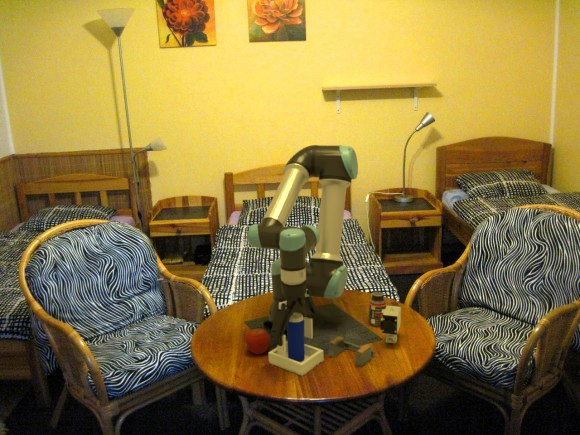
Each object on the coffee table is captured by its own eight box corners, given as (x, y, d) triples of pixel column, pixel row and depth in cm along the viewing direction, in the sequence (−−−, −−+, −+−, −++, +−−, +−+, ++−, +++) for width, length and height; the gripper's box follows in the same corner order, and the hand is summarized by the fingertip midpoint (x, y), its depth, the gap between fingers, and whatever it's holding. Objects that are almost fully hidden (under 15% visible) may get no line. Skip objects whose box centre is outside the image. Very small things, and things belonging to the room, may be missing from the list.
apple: (275, 351, 177) (274, 329, 175) (256, 360, 172) (255, 337, 170) (260, 343, 183) (259, 322, 181) (241, 351, 178) (240, 329, 176)
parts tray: (268, 363, 170) (268, 352, 169) (290, 349, 178) (290, 338, 178) (302, 376, 162) (301, 365, 161) (323, 360, 171) (323, 350, 170)
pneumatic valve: (401, 334, 186) (401, 301, 183) (395, 350, 176) (396, 315, 173) (384, 332, 188) (385, 299, 185) (378, 347, 177) (379, 313, 174)
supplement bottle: (374, 328, 191) (375, 298, 188) (365, 321, 196) (365, 292, 193) (389, 324, 193) (389, 295, 190) (379, 318, 198) (380, 289, 196)
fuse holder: (328, 355, 173) (328, 342, 172) (342, 345, 179) (342, 332, 178) (361, 367, 166) (361, 353, 165) (374, 356, 172) (374, 343, 171)
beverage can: (307, 357, 171) (306, 313, 168) (300, 365, 167) (299, 320, 163) (292, 354, 174) (291, 311, 170) (285, 362, 169) (283, 317, 165)
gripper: (276, 297, 152) (279, 365, 157) (327, 271, 171) (328, 333, 176) (256, 291, 156) (259, 358, 162) (308, 266, 175) (309, 327, 181)
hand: (295, 345), depth 169 cm, fingers open, 13 cm apart
